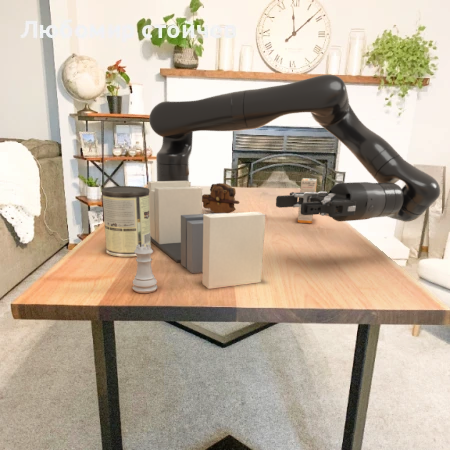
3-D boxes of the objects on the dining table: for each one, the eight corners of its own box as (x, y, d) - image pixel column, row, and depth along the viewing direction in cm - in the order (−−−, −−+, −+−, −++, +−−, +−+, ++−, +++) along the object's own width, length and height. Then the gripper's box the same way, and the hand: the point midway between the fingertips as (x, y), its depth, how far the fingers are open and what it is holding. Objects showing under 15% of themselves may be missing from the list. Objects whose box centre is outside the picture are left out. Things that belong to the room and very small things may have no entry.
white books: (144, 236, 116) (143, 180, 111) (187, 233, 121) (187, 180, 116) (177, 262, 95) (176, 195, 90) (227, 257, 100) (229, 193, 95)
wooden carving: (196, 210, 153) (197, 181, 150) (205, 209, 157) (206, 180, 153) (233, 218, 143) (234, 186, 140) (242, 216, 147) (243, 185, 143)
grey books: (180, 264, 94) (180, 214, 90) (223, 260, 98) (224, 212, 94) (192, 273, 88) (192, 221, 85) (236, 268, 92) (238, 218, 89)
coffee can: (107, 245, 106) (103, 185, 101) (150, 245, 108) (149, 186, 103) (103, 257, 97) (99, 191, 91) (151, 256, 98) (149, 192, 93)
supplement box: (312, 223, 139) (317, 181, 134) (297, 222, 140) (301, 180, 135) (313, 219, 146) (317, 178, 142) (298, 218, 147) (302, 177, 142)
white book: (202, 283, 83) (203, 214, 78) (253, 277, 87) (257, 211, 83) (208, 289, 80) (210, 217, 75) (261, 282, 85) (265, 214, 80)
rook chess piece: (133, 285, 81) (131, 242, 78) (158, 285, 81) (157, 242, 78) (131, 294, 77) (128, 249, 74) (157, 294, 77) (155, 249, 74)
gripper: (335, 178, 94) (270, 180, 88) (384, 186, 82) (313, 189, 76) (331, 213, 97) (268, 218, 90) (378, 226, 85) (309, 232, 78)
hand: (288, 205), depth 83 cm, fingers open, 8 cm apart
